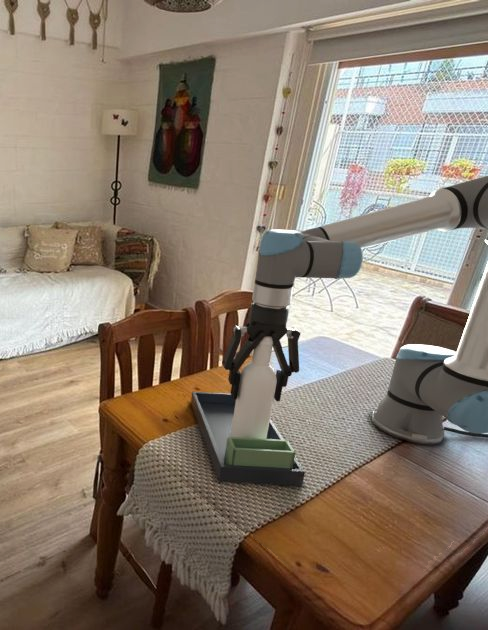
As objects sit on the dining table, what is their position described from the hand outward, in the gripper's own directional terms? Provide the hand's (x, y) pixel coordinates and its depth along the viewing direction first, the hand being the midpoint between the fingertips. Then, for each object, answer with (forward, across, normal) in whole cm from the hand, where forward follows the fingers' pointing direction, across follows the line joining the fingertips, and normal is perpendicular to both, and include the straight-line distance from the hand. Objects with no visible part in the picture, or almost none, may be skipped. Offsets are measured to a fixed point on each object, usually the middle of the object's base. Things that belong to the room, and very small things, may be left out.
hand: (254, 397), depth 101 cm
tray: (+15, 0, -6) cm, 16 cm away
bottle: (+15, 0, 0) cm, 15 cm away
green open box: (+15, 0, +8) cm, 16 cm away
